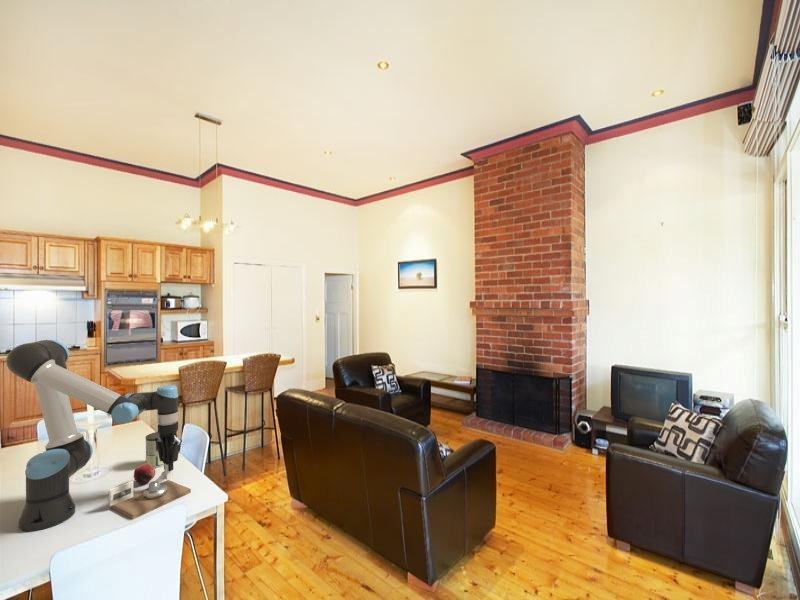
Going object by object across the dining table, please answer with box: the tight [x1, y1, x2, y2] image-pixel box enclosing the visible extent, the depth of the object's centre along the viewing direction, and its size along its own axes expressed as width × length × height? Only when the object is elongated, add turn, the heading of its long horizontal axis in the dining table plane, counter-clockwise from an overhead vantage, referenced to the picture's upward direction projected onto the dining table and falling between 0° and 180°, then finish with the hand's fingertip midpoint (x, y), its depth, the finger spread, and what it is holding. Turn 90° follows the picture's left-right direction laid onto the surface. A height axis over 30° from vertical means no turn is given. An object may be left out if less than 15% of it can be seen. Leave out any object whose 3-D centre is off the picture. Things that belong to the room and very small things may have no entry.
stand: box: [108, 479, 192, 520], centre depth 153 cm, size 23×16×8 cm
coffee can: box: [145, 431, 164, 469], centre depth 186 cm, size 10×10×14 cm
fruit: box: [133, 463, 156, 485], centre depth 167 cm, size 8×8×8 cm
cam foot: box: [143, 470, 167, 499], centre depth 157 cm, size 14×8×5 cm, turn 9°
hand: (168, 477), depth 162 cm, fingers closed
